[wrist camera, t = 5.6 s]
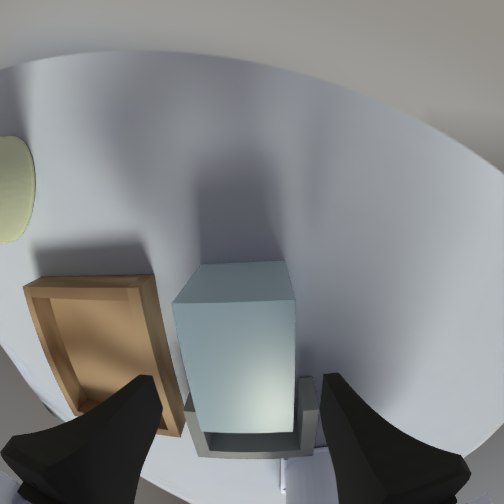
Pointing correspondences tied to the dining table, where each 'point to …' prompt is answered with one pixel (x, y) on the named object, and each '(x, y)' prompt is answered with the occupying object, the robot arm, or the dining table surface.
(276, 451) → the bay
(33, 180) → the can
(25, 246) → the dining table surface
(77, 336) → the tray
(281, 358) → the pale blue cuboid
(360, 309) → the dining table surface
